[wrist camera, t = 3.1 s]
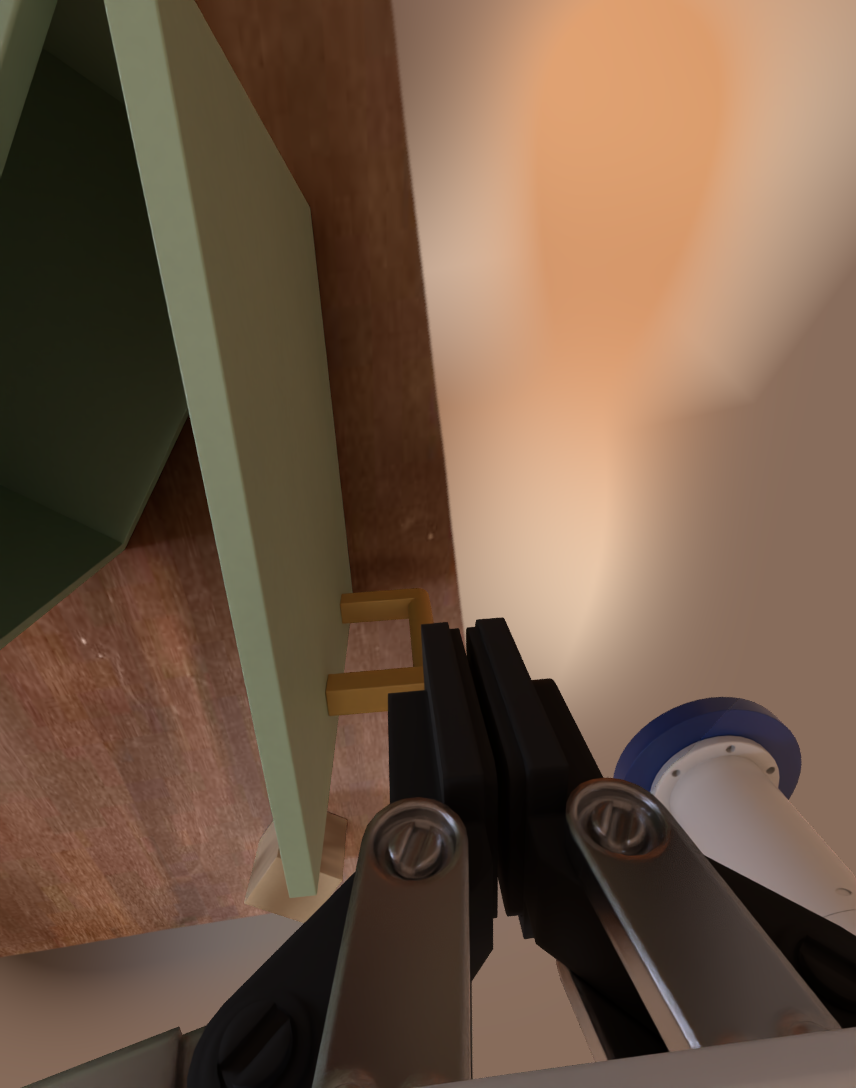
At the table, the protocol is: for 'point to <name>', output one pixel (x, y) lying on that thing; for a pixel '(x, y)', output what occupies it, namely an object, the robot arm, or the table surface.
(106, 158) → the cupboard
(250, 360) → the cupboard door
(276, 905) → the block
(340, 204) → the table surface
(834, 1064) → the robot arm
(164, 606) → the table surface
